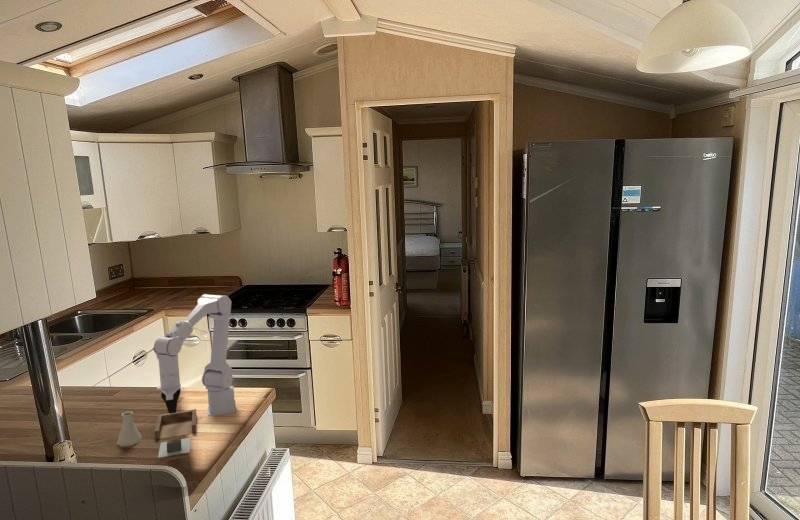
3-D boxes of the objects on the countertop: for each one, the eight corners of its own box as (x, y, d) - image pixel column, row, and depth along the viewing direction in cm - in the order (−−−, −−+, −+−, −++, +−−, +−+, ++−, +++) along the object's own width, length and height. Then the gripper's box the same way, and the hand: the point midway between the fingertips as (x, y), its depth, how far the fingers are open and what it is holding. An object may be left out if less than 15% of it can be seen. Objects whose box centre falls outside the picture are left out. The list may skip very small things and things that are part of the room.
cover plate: (190, 440, 164) (190, 429, 164) (189, 455, 155) (189, 443, 154) (160, 445, 161) (160, 433, 160) (158, 460, 152) (157, 448, 151)
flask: (131, 449, 158) (128, 419, 156) (111, 446, 159) (109, 417, 158) (147, 438, 165) (144, 409, 163) (128, 436, 166) (125, 407, 165)
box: (196, 417, 180) (196, 409, 179) (196, 433, 167) (195, 424, 167) (159, 423, 175) (158, 414, 175) (155, 440, 163) (154, 431, 163)
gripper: (157, 367, 166) (160, 405, 168) (153, 382, 153) (157, 424, 155) (180, 364, 169) (183, 402, 171) (178, 379, 155) (181, 420, 157)
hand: (172, 412), depth 163 cm, fingers closed
